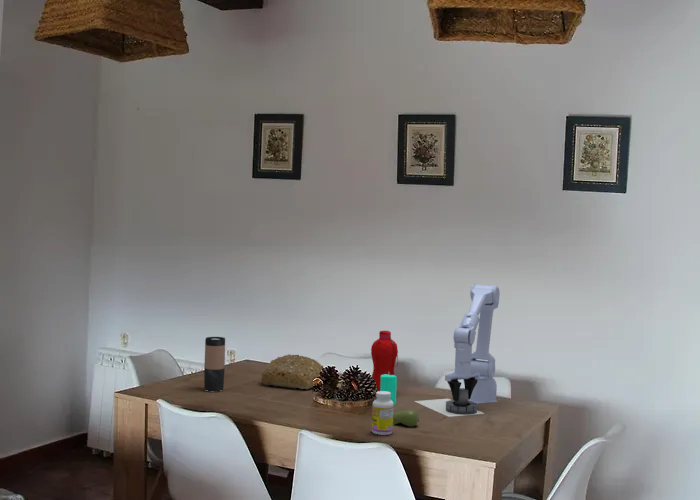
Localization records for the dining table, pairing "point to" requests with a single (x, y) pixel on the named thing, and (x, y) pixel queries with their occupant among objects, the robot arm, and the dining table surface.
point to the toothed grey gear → (461, 408)
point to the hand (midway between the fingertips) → (461, 399)
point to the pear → (406, 418)
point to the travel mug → (214, 363)
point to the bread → (291, 372)
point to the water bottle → (383, 356)
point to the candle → (389, 385)
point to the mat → (441, 406)
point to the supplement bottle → (382, 414)
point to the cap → (462, 397)
